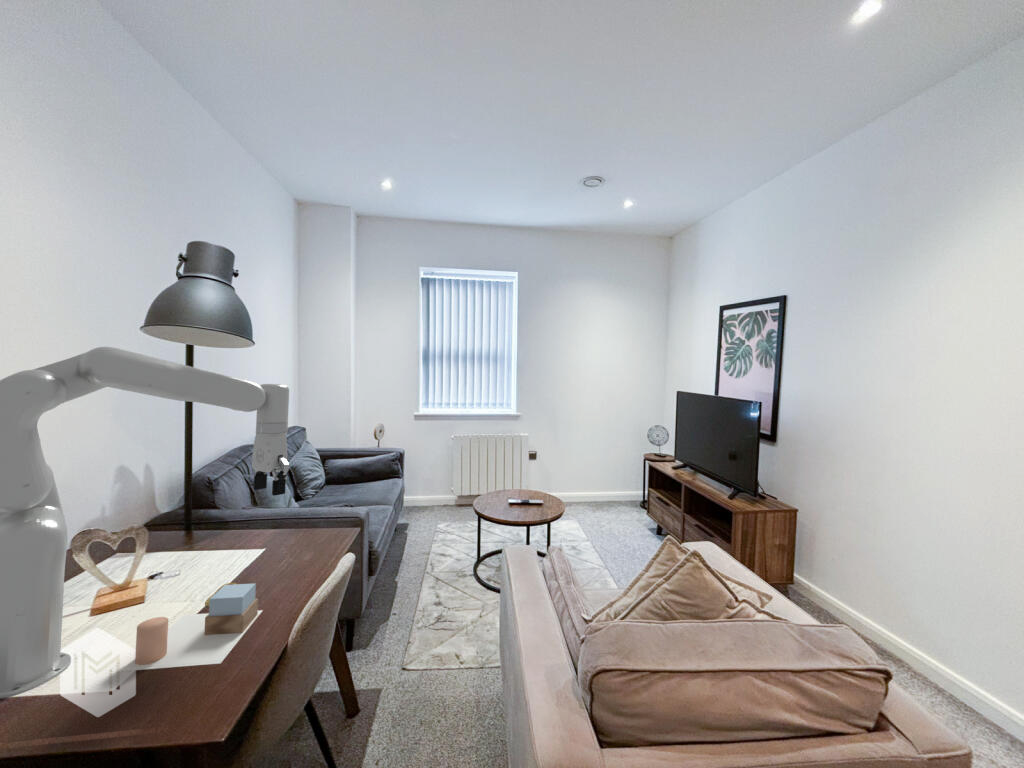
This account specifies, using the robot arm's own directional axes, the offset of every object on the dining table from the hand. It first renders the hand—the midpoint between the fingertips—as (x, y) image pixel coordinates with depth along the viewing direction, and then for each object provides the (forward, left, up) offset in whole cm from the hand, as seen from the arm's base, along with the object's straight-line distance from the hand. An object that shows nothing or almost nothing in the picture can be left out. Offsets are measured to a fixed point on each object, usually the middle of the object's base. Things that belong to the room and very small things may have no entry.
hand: (269, 491), depth 112 cm
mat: (-7, -17, -29) cm, 35 cm away
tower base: (-2, -12, -29) cm, 31 cm away
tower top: (-2, -12, -25) cm, 28 cm away
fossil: (-9, +2, -30) cm, 31 cm away
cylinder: (-13, -23, -29) cm, 39 cm away
